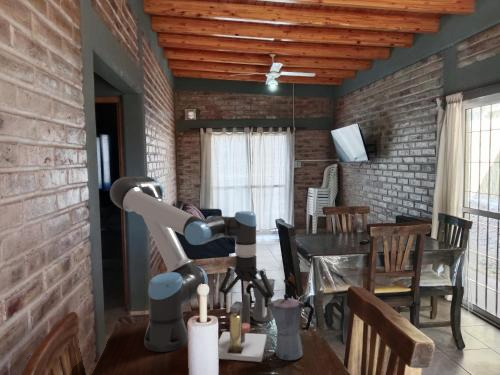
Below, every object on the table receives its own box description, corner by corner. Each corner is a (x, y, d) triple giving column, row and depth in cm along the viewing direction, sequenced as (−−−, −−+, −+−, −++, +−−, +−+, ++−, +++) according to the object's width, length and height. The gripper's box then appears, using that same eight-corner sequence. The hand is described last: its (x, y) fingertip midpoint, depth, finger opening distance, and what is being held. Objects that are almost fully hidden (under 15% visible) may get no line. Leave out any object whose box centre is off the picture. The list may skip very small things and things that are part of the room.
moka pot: (268, 345, 123) (268, 288, 123) (313, 349, 121) (313, 291, 120) (265, 360, 114) (265, 298, 113) (314, 363, 112) (314, 301, 111)
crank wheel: (242, 352, 115) (242, 308, 115) (225, 349, 117) (224, 305, 117) (255, 334, 128) (255, 294, 128) (239, 331, 130) (239, 292, 130)
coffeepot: (267, 310, 155) (267, 269, 154) (282, 316, 148) (282, 274, 147) (239, 319, 145) (239, 276, 145) (254, 327, 138) (254, 281, 137)
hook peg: (229, 356, 116) (228, 315, 116) (231, 350, 120) (231, 310, 119) (239, 357, 116) (239, 315, 115) (241, 351, 119) (241, 311, 119)
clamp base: (212, 358, 115) (212, 353, 115) (223, 335, 131) (223, 331, 131) (261, 361, 113) (261, 357, 113) (266, 338, 129) (266, 334, 129)
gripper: (282, 254, 126) (282, 313, 127) (218, 250, 134) (218, 305, 135) (277, 259, 119) (277, 322, 120) (209, 255, 127) (210, 313, 128)
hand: (246, 313), depth 128 cm, fingers open, 13 cm apart
